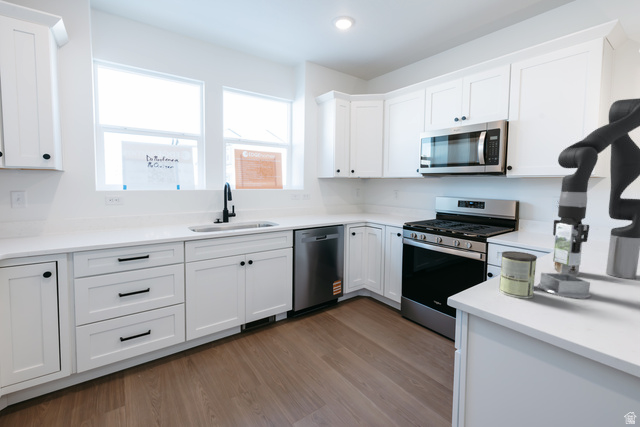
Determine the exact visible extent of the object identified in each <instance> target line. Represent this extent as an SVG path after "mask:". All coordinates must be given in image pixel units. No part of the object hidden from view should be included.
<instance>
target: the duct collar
mask: <svg viewBox="0 0 640 427" xmlns="http://www.w3.org/2000/svg"><path fill="white" fill-rule="evenodd" d="M539 279H540V280H539V283H538V284H537V287H538V289H540V290H541V291H543V292H544V293H545V292H546V293H548V294H551V295H554V294H555V296H558V295H559V297H563V296H564V297H563V298H568V297H571V299H578V298H585V299H589V298H590V297H591V293H590V287H591V282H590V281H588V280H585V279H582V278H580V277H579V276H573V275H571V274H560V273H559V272H558V273H555V272H554V273H553V272H541V273H540V278H539ZM588 297H589V298H588Z"/></svg>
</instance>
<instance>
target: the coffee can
mask: <svg viewBox="0 0 640 427" xmlns="http://www.w3.org/2000/svg"><path fill="white" fill-rule="evenodd" d="M537 259H538V256H537V255H536V254H533V253H532V254H531V253H529V252H522V251H516V250H515V251H514V250H512V251H511V250H510V251H509V250H508V251H502V252H501V263H500V264H501V265H500V266H501V268H500V279H499V292H500V293H501V294H503V295H505V296H508V297H511V298H517V299H532V298H534V288H535V276H536V269H537V268H536V266H537Z"/></svg>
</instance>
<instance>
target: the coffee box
mask: <svg viewBox="0 0 640 427" xmlns="http://www.w3.org/2000/svg"><path fill="white" fill-rule="evenodd" d="M553 267H554V268H553V269H554V270H555V271H556V272H558V273H560V274H571V275H573V276H575V277H579V274H580V273H579V271H580V265H574V266H568V265H564V264H561V263H557V262H554V266H553Z"/></svg>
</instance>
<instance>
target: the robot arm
mask: <svg viewBox="0 0 640 427" xmlns="http://www.w3.org/2000/svg"><path fill="white" fill-rule="evenodd" d="M639 127H640V98H627V99H618V100H616V101H614V102H613V103H612V104H611V106H610V107H609V111H608V124H604V125H603V126H600V127H598V128H596V129H594V130H593V131H592V132H590V133H589V134H587V136H586V137H585V138H583V139H581V140H580V141H577V142H575V143H573V144H571V145H569V146H568V147H565V148H564V149H563V150H562V151H561V152H560V153H559V155H558V158H557V160H558V161H557V163H558V164H559V166H560V167H561V168H564V169H576V171H574V173H573V174H568V175H564V177H563V178H562V182H561V188H560V189H561V190H560V196H559V201H558V202H559V203H558V211H557V216H558V218H560V219H554V220H553V230H552V231H553V232H552V234H553V236H554V237H555V236H556V225H557V224H558V223H562V224H566V225H574V229H575V230H576V231H578V233H573V234H572V236H573V239H572V240H573V242H572V250H571V252H572V253H579V252H580V247H581V243H582V244H583V243H587V241H588V237H589V231H590V225H589V224H583V223H582V220H584V219H586V214H587V204H588V187H589V186H588V184H589V181H590V178H591V175H592V173H593V171H594V168H595V166H596V165H597V162H598V159H599V154H600V153H602V152H603V151H604V150H605V149H607V148H608V147H609V146H610V173H609V174H610V193H609V202H608V203H609V204H608V215H609V217H610V219H612V220H616V221H617V220H618V221H619V220H620V221H629V222H630V221H631V223H630V224H627V225H625V226H620V227H613V228H611V230H610V235H609V247H608V254H607V261H606V262H607V263H606V269H605V270H606V271H605V274H606V275H609V276H613V277H616V278H617V277H618V278H623V279H632V280H633V279H634V280H635V279H636V278H637V274H638V267H639V265H638V264H639V257H640V198H625V197H624V198H621V196H622V194H623V193H624V192H625V190H626V189H627V188H628V187H629V186H630V185H631V184H632V183H634V181H636V180H637V178H639V177H640V147H639V146H638V145H637V143H636V142H635V141H634V140H633V139H632V137H631V136H630V135H629V133H630V132H632V131H633V130H635V129H637V128H639ZM582 235H583V238H582ZM575 236H576V237H577V239H576V237H575Z"/></svg>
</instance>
